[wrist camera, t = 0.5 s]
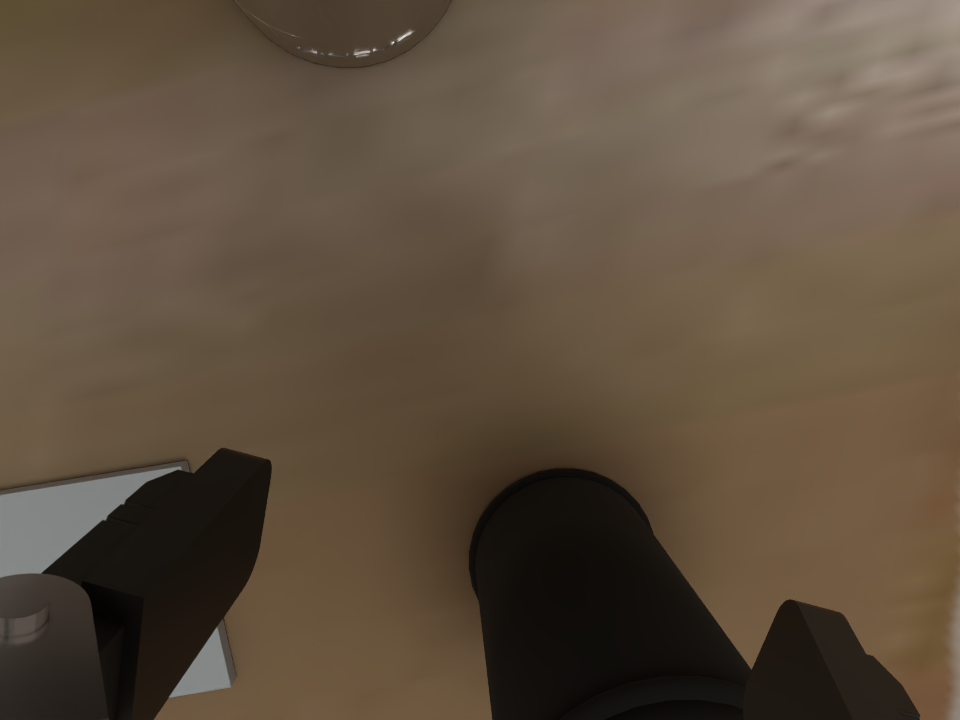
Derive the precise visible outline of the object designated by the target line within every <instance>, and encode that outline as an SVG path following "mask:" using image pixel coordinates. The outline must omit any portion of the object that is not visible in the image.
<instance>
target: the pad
mask: <svg viewBox="0 0 960 720" xmlns="http://www.w3.org/2000/svg"><path fill="white" fill-rule="evenodd" d="M175 470H182V471H186V472H189V473H190V470H189V466H188V461H181V462H175V463H168V464H162V465H156V466H150V467H143V468H137V469H131V470H125V471H118V472H112V473H106V474H100V475H93V476H87V477H81V478H75V479H68V480H62V481H56V482H50V483H43V484H37V485H31V486H25V487H18V488H12V489H6V490H0V578H1V577H5V576H10V575H16V574H28V573H38V574H41V573H42V572H43V571H44V570H45V569H47V568H48V567H49V566H50V565H51V564H52V563H53V562H55V561H56V560H57V559H58V558H59V557H60V556H62V555H63V554H64V553H65V552H66V551H67V550H68V549H70V548H71V547H72V546H73V545H74V544H75V543H77V542H78V541H79V540H80V539H81V538H82V537H83V536H85V535H86V534H87V533H88V532H89V531H90V530H91V529H93V528H94V527H95V526H96V525H97V524H98V523H100V522H101V521H102V520H106V519H107V516H108V515H109V514H110V513H111V512H112V511H113V510H115V509H116V508H117V507H118V506H119V505H120V504H123V505H124V503H125V500H126V499H127V498H128V497H130V496H131V495H132V494H133V493H134V492H135V491H136V490H138V489H139V488H140V487H141V486H142V485H143V484H145V483H146V482H147V481H150V480H152V479H155V478H157V477H160V476H163V475H165V474H168V473H170V472H173V471H175ZM235 678H236V674H235V670H234V665H233V661H232V656H231V652H230V648H229V643H228V639H227V634H226V630H225V625H224V621H223V619H222V620H221V622H220V623H219V625H218V626H217V628H216V629H215V631H214V632H213V634H212V635H211V637H210V638H209V639H208V641H207V642H206V644H205V645H204V647H203V648H202V650H201V651H200V653H199V654H198V656H197V657H196V658H195V660H194V661H193V663H192V664H191V666H190V667H189V669H188V670H187V672H186V673H185V674H184V676H183V677H182V679H181V680H180V682H179V683H178V685H177V686H176V688H175V689H174V691H173V692H172V693H171V695H170V696H169V698H170V697H176V696H182V695H188V694H194V693H200V692H206V691H212V690H217V689H223V688H229V687H231V686H232V684H233V682H234V680H235Z"/></svg>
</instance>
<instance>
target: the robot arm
mask: <svg viewBox="0 0 960 720" xmlns="http://www.w3.org/2000/svg"><path fill="white" fill-rule="evenodd" d="M234 2H235V3H236V4H237V5H238V6H239V7H240V8H241V10H242V11H243V12H244V13H245V14H246V15H247V17H248V18H249V19H250V20H251V21H252V22H253V23H254V24H255V25H256V26H257V27H258V28H259V29H260V30H261V31H262V32H263V33H264V34H265V35H266V36H267V37H268V38H269V39H270V40H272V41H273V42H275V43H276V44H278V45H279V46H280V47H282V48H283V49H285V50H286V51H288V52H289V53H291V54H294V55H296V56H298V57H301V58H303V59H306V60H308V61H310V62H313V63H317V64H322V65H328V66H333V67H338V68H341V67H365V66H369V65H372V64H376V63H380V62H384V61H388V60H390V59H392V58H394V57H396V56H398V55H400V54H401V53H403V52H405V51H407V50H409V49H411V48H412V47H413V46H414V45H416V44H417V43H418V42H419V41H420V40H422V39H423V38H424V37H425V36H426V35H428V34H429V33H430V32H431V30H432V29H433V28H434V26H435V25H436V24H437V23H438V21H439V20H440V19H441V17H442V16H443V15H444V13H445V12H446V10H447V8H448V6H449V4H450V2H451V0H234ZM271 470H272V467H271V462H270V460H268V459H264V458H261V457H257V456H253V455H249V454H245V453H242V452H238V451H234V450H230V449H227V448H221V449H219V450H218V451H217V452H216V453H215V454H214V455H213V456H212V457H211V458H209V459H208V460H207V461H206V462H205V463H204V464H203V465H202V466H201V467H200V468H199V469H198V470H197V471H196V472H195V473H194V474H193V473H189V472H186V471H182V470H175V471H173V472H170V473H168V474H165V475H163V476H160V477H157V478H155V479H152V480H150V481H147V482H146V483H145V484H143V485H142V486H141V487H140V488H139V489H138V490H136V491H135V492H134V493H133V494H132V495H131V496H130V497H128V498H127V499H126V500H125V503H124V505H123V504H120V505H119V506H118V507H117V508H116V509H115V510H113V511H112V512H111V513H110V514H109V515H108V516H107V519H106V520H102V521H101V522H100V523H98V524H97V525H96V526H95V527H94V528H93V529H91V530H90V531H89V532H88V533H87V534H86V535H85V536H83V537H82V538H81V539H80V540H79V541H78V542H77V543H75V544H74V545H73V546H72V547H71V548H70V549H68V550H67V551H66V552H65V553H64V554H63V555H62V556H60V557H59V558H58V559H57V560H56V561H55V562H53V563H52V564H51V565H50V566H49V567H48V568H47V569H45V570H44V571H43V572H42V573H41V574H38V573H28V574H16V575H10V576H5V577H1V578H0V720H154V718H155V717H156V715H157V714H158V712H159V711H160V710H161V708H162V707H163V705H164V704H165V702H166V701H167V699H168V698H169V696H170V695H171V693H172V692H173V691H174V689H175V688H176V686H177V685H178V683H179V682H180V680H181V679H182V677H183V676H184V674H185V673H186V672H187V670H188V669H189V667H190V666H191V664H192V663H193V661H194V660H195V658H196V657H197V656H198V654H199V653H200V651H201V650H202V648H203V647H204V645H205V644H206V642H207V641H208V639H209V638H210V637H211V635H212V634H213V632H214V631H215V629H216V628H217V626H218V625H219V623H220V622H221V620H222V619H223V618H224V616H225V615H226V613H227V612H228V610H229V609H230V607H231V606H232V604H233V603H234V602H235V600H236V599H237V597H238V596H239V594H240V593H241V591H242V590H243V588H244V587H245V585H246V583H247V582H248V580H249V577H250V575H251V573H252V571H253V568H254V565H255V562H256V559H257V556H258V552H259V548H260V542H261V536H262V529H263V523H264V517H265V511H266V504H267V498H268V492H269V485H270V479H271ZM919 717H920V714H919V713H918V711H917V709H916V708H915V706H914V704H913V703H912V701H911V699H910V698H909V696H908V694H907V693H906V691H905V689H904V688H903V686H902V685H901V684H900V683H899V682H898V681H897V680H896V679H895V678H894V677H893V676H892V675H891V674H890V673H889V672H888V671H887V670H886V669H885V668H884V667H883V666H882V665H881V664H880V663H879V662H878V661H877V660H876V659H875V658H874V657H873V656H871V655H867V654H866V653H865V651H864V650H863V648H862V646H861V644H860V643H859V641H858V639H857V637H856V635H855V634H854V632H853V630H852V628H851V626H850V625H849V623H848V621H847V619H846V618H845V616H844V615H843V614H841V613H839V612H836V611H833V610H829V609H825V608H821V607H818V606H814V605H810V604H806V603H802V602H799V601H795V600H786V601H785V602H784V603H783V604H782V605H781V606H780V608H779V610H778V612H777V614H776V616H775V618H774V620H773V623H772V625H771V627H770V630H769V632H768V634H767V636H766V639H765V641H764V643H763V645H762V648H761V650H760V652H759V655H758V657H757V659H756V661H755V664H754V666H753V668H752V671H751V673H750V675H749V678H748V680H747V683H746V687H745V691H744V698H743V718H744V720H920V719H919Z"/></svg>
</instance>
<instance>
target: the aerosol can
mask: <svg viewBox="0 0 960 720" xmlns="http://www.w3.org/2000/svg"><path fill="white" fill-rule="evenodd" d="M469 571H470V576H471V581H472V586H473V589H474V591H475V593H476V596H477V598H478V600H479V605H480V614H481V623H482V632H483V641H484V650H485V658H486V667H487V676H488V685H489V694H490V703H491V711H492V720H744V718H743V698H744V691H745V687H746V683H747V680H748V678H749V675H750V673H751V671H752V670H751V668H750V667H749V666H748V664H747V663H746V662H745V660H744V659H743V657H742V656H741V655H740V653H739V652H738V651H737V649H736V648H735V646H734V645H733V644H732V642H731V641H730V639H729V638H728V637H727V635H726V634H725V633H724V631H723V630H722V628H721V627H720V626H719V624H718V623H717V622H716V620H715V619H714V617H713V616H712V615H711V613H710V612H709V610H708V609H707V608H706V606H705V605H704V604H703V602H702V601H701V599H700V598H699V597H698V595H697V594H696V593H695V591H694V590H693V588H692V587H691V586H690V584H689V583H688V581H687V580H686V579H685V577H684V576H683V575H682V573H681V572H680V570H679V569H678V568H677V566H676V565H675V564H674V562H673V561H672V559H671V558H670V557H669V555H668V554H667V552H666V551H665V550H664V548H663V547H662V546H661V544H660V543H659V541H658V540H657V539H656V537H655V536H654V534H653V531H652V528H651V526H650V523H649V520H648V518H647V516H646V514H645V513H644V511H643V510H642V508H641V506H640V505H639V503H638V502H637V501H636V500H635V499H634V498H633V497H632V496H631V495H630V494H629V493H628V492H627V491H626V490H625V489H624V488H622V487H621V486H619V485H618V484H616V483H615V482H613V481H612V480H610V479H607V478H605V477H602V476H600V475H598V474H595V473H591V472H586V471H581V470H576V469H556V470H551V471H545V472H540V473H537V474H534V475H532V476H529V477H527V478H524V479H522V480H520V481H518V482H517V483H515V484H513V485H512V486H510V487H509V488H507V489H506V490H504V491H503V492H502V493H501V494H500V495H499V496H498V497H497V498H496V499H495V500H494V501H493V502H492V503H491V504H490V506H489V507H488V509H487V510H486V511H485V513H484V514H483V515H482V517H481V519H480V521H479V523H478V525H477V527H476V530H475V532H474V534H473V538H472V543H471V547H470V551H469Z"/></svg>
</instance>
